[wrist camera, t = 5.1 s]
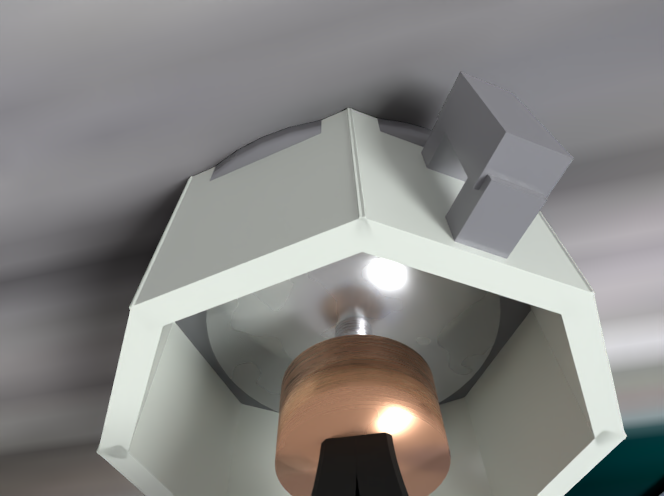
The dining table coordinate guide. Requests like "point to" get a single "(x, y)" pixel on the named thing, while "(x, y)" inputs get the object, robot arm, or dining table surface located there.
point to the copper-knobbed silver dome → (357, 360)
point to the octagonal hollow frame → (391, 244)
